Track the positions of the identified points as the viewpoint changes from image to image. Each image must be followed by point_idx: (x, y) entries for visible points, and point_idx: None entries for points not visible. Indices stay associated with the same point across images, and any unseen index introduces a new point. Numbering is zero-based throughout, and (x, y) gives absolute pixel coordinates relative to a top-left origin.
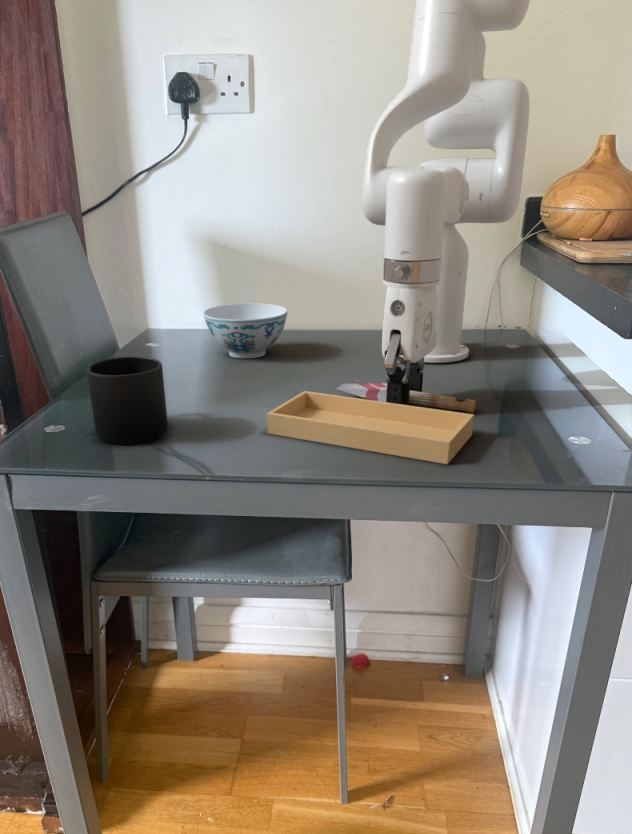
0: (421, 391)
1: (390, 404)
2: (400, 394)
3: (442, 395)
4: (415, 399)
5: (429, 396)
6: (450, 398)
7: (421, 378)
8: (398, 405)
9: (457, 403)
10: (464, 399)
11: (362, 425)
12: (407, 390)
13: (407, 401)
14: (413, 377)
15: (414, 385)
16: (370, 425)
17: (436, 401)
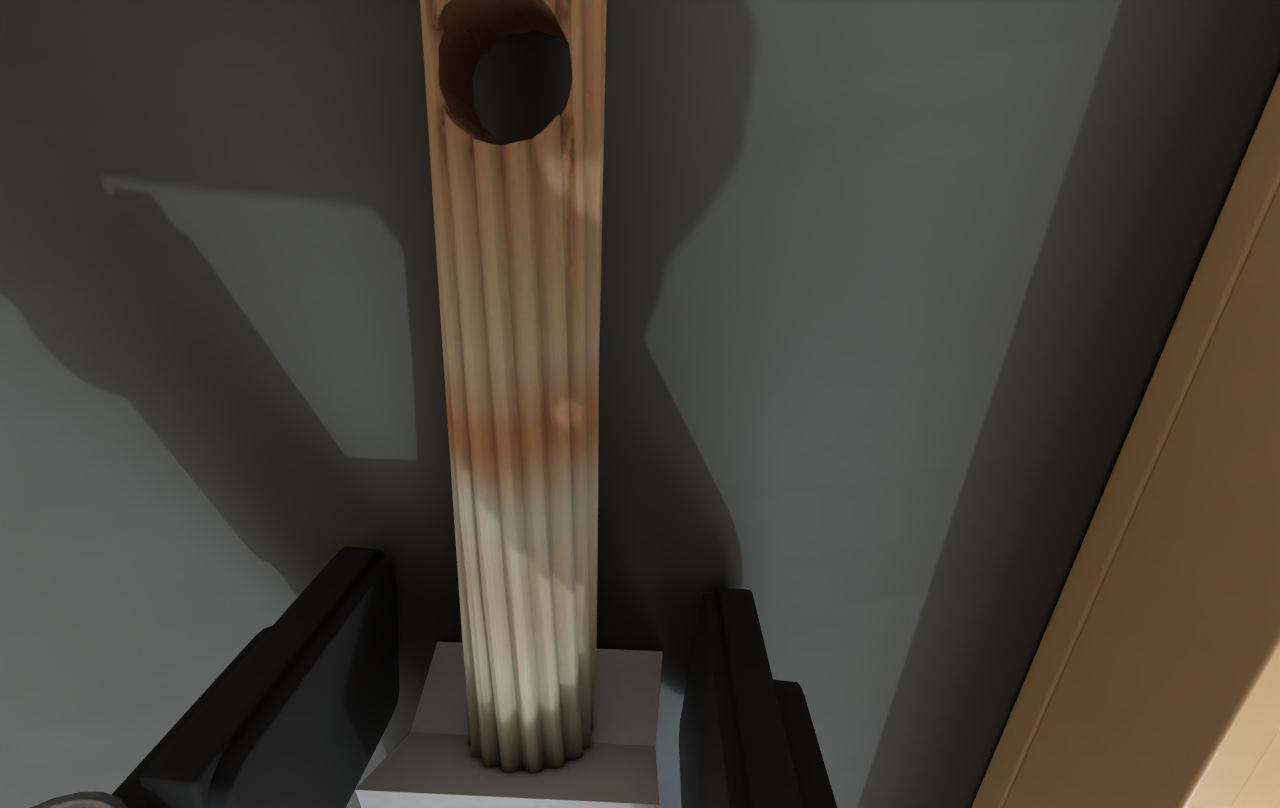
0: (327, 587)
1: (1230, 801)
2: (826, 777)
3: (496, 341)
4: (595, 590)
5: (558, 482)
6: (535, 219)
7: (252, 716)
8: (1277, 731)
9: (580, 105)
10: (446, 12)
11: (1258, 803)
12: (790, 761)
13: (764, 649)
14: (278, 803)
15: (328, 699)
16: (1262, 759)
17: (588, 379)
